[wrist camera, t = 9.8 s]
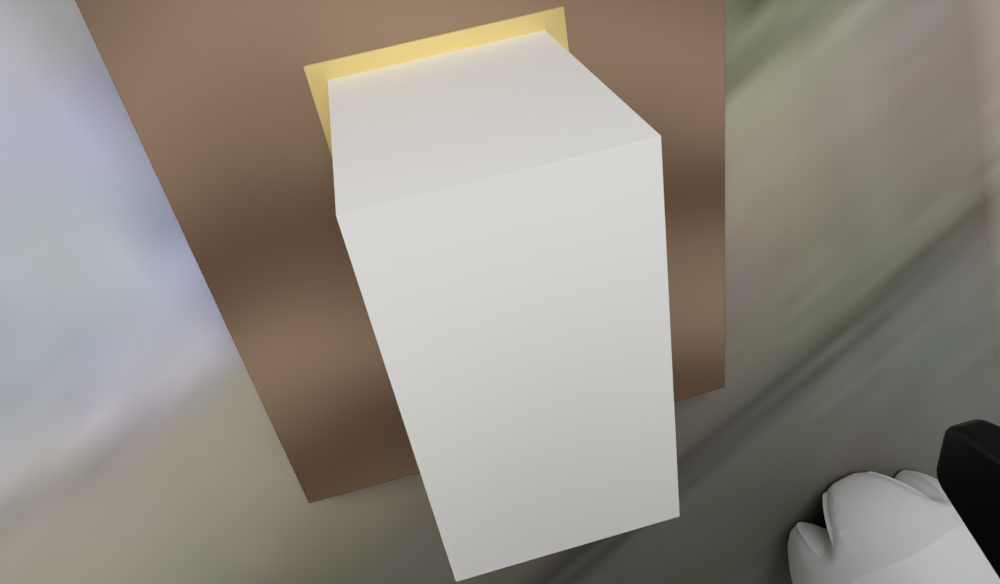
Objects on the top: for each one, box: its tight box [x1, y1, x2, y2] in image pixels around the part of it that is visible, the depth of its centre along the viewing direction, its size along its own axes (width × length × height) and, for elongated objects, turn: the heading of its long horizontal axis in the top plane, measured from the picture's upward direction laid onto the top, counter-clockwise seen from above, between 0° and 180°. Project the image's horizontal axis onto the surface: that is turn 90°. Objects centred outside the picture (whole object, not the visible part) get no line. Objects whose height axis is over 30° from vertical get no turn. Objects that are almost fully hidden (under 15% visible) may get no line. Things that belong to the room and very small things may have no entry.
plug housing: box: [328, 30, 680, 582], centre depth 14 cm, size 8×4×6 cm, turn 9°
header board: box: [75, 0, 725, 503], centre depth 16 cm, size 14×12×5 cm
